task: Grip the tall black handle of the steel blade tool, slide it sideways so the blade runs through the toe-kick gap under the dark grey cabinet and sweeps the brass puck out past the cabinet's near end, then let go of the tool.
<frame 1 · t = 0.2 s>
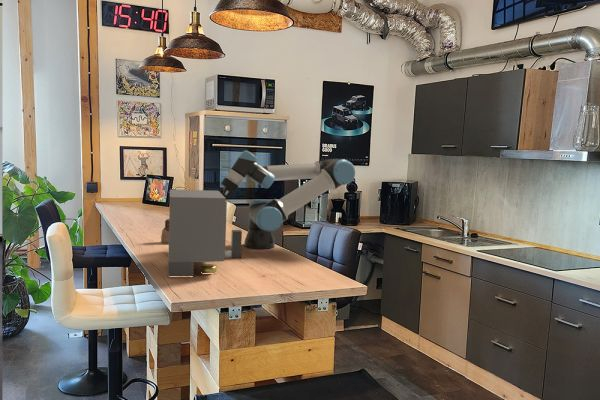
hand: (205, 219, 224), 15 cm above the table, tool tilted 35°, fingers open, 13 cm apart
brass token: (208, 273, 191), on the table
figurine: (168, 243, 242), on the table
cabinet: (194, 268, 197), on the table
blade tool: (235, 257, 219), on the table
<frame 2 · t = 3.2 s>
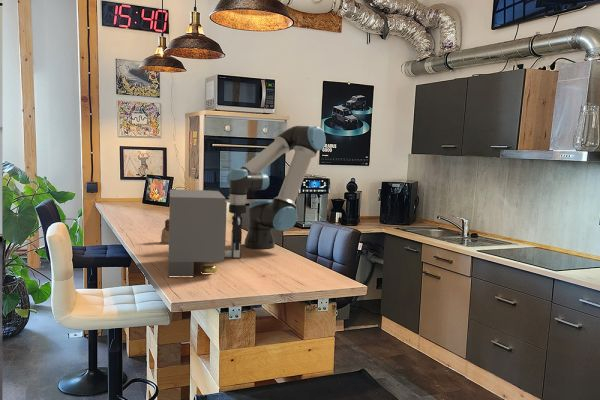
hand: (235, 255, 219), 1 cm above the table, tool pointing down, fingers closed on blade tool, 4 cm apart
blade tool: (235, 257, 219), on the table, touching gripper
everything else where it was.
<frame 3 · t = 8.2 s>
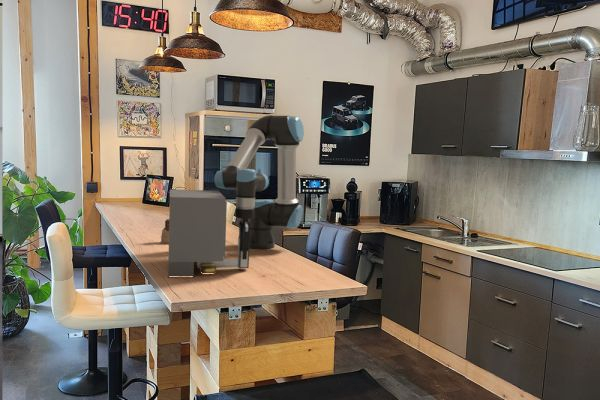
hand: (242, 265, 198), 2 cm above the table, tool pointing down, fingers closed on blade tool, 4 cm apart
blade tool: (242, 266, 198), point 1 cm above the table, touching gripper
everything else where it was.
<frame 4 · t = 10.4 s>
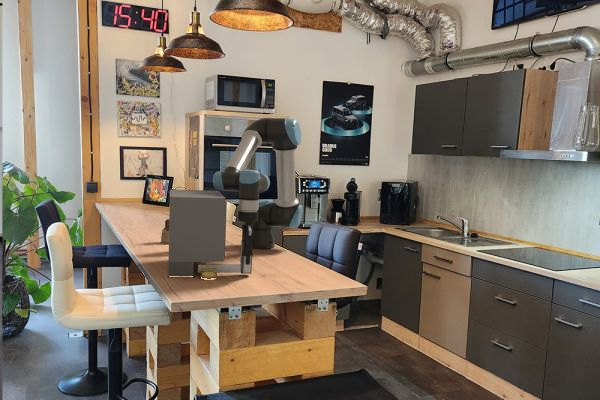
hand: (246, 270, 189), 2 cm above the table, tool pointing down, fingers closed on blade tool, 4 cm apart
brass token: (208, 278, 183), on the table, touching blade tool
blade tool: (245, 272, 189), point 1 cm above the table, touching brass token, gripper
everything else where it was.
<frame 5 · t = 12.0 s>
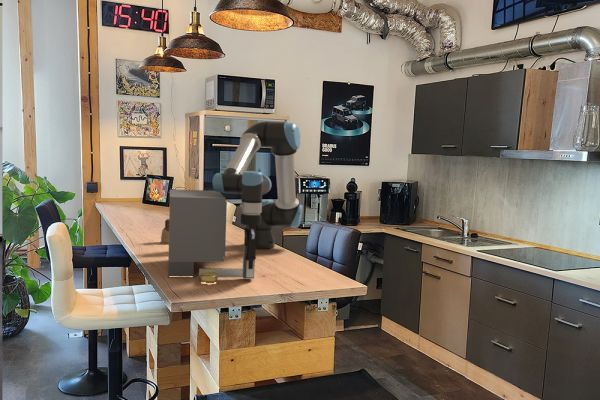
hand: (248, 275, 184), 2 cm above the table, tool pointing down, fingers closed on blade tool, 4 cm apart
brass token: (208, 283, 177), on the table, touching blade tool
blade tool: (248, 276, 184), point 1 cm above the table, touching brass token, gripper
everything else where it was.
when the fingers open (1 cm above the table, at t = 13.0 s): blade tool stays where it is, on the table.
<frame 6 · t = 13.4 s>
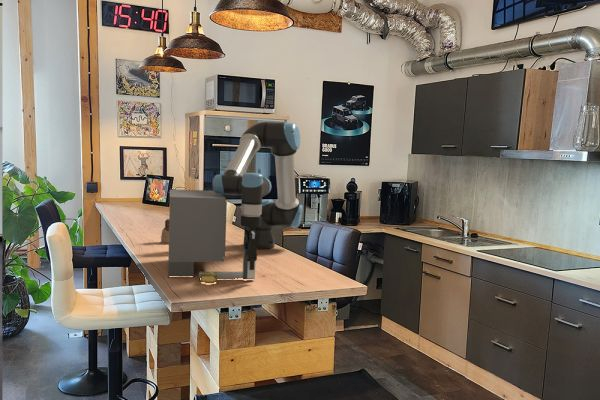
hand: (248, 274, 183), 2 cm above the table, tool pointing down, fingers open, 9 cm apart
brass token: (208, 283, 177), on the table
blade tool: (248, 279, 184), on the table
everything else where it was.
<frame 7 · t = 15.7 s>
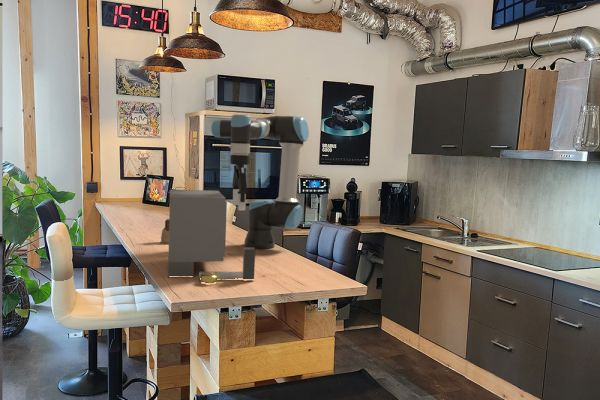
hand: (238, 207, 197), 25 cm above the table, tool pointing down, fingers open, 13 cm apart
nothing on the table moved.
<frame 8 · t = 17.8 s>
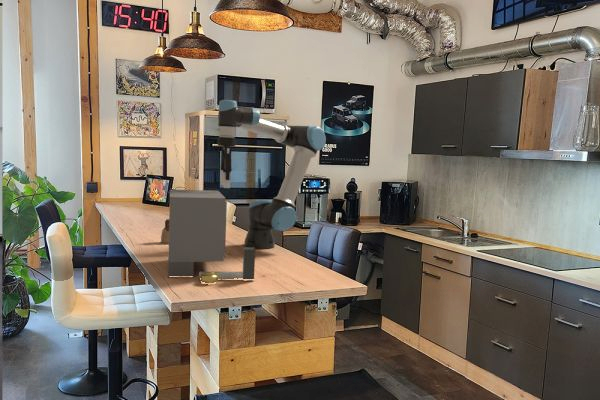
hand: (225, 186, 212), 32 cm above the table, tool pointing down, fingers open, 13 cm apart
nothing on the table moved.
at the end: brass token inside the target area (6.4 cm from its centre), on the table; the gripper is holding nothing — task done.
